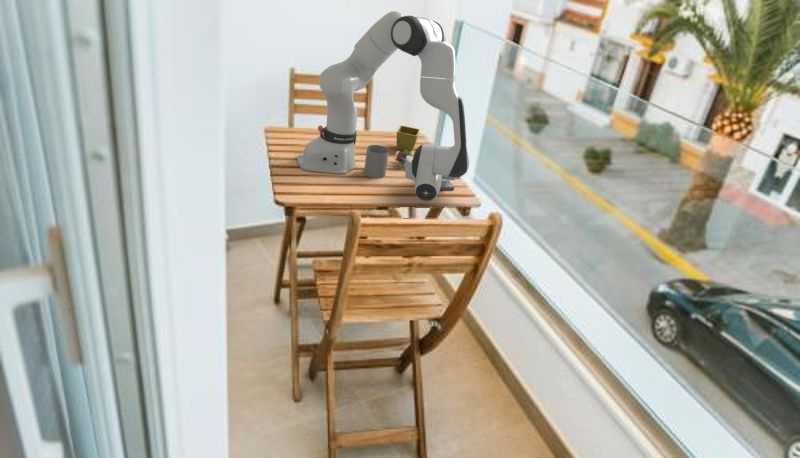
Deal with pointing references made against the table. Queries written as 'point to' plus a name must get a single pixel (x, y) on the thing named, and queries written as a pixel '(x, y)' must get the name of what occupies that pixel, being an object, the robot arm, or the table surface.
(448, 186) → the carrier
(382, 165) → the cup
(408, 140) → the flower pot
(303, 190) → the table surface
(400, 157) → the geometric puzzle
